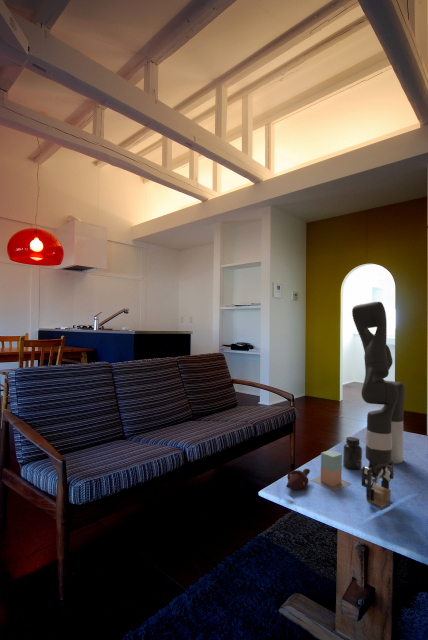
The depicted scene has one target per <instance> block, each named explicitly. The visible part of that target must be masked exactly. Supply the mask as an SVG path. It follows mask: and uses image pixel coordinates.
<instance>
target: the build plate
mask: <svg viewBox="0 0 428 640" xmlns="http://www.w3.org/2000/svg"><path fill="white" fill-rule="evenodd" d="M310 481H311V482H314V483H316V484H318V485H320V486H322V487H324V488H326V489H329V490H331V491H333V492H336V491H338V490H341V489H343V488H346V487H348V486H350V485H352V483H350V482H348V481H347V480H343V479H342V478H341V483H340V484H337V485H335V486H331V485H328V484H326V483H324V482H322V481H321V475H320V476H318V477H315V478H312V479H310Z"/></svg>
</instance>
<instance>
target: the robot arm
mask: <svg viewBox="0 0 428 640" xmlns="http://www.w3.org/2000/svg"><path fill="white" fill-rule="evenodd" d="M351 314H352V319H353V322H354V326H355V327H356V328H355V329H356V331H357V333H358V336H359V338H360V341H361V343H362V344H361V345H362V346H363V351H364V356H363V357H364V367H365V368H364V369H365V375H364V380H363V385H362V388H361V394H360V395H361V397H362V400H363V401H364V402H365V403H366V404H370V405H383V407H382V408H381V409H377V410H371V411H368V412H367V415H366V433H365V458H366V460H368V462H369V463H368V466H365V465H364V466H363V465H362V469H361V487H364V488H365V494H366V495H365V497H366V501H367V500H370V501H374V487H375V485H377V484H378V483H379V481H381V482H380V483H381V485H380V486H381V487H384V488H386V489H389V490H390V483H391V482H392V481H391V480H393V479H394V475H395V474H394V464H395V465H396V464H397V465H398V464H402V463H403V461H404V415H405V414H404V413H405V412H404V410H405V408H404V406H405V398H406V397H405V394H406V388H405V385H404V383H403V382H402V381H401V382H400V381H393V380H386V378H387V377H388V376H389V373H390V371H389V370H390V369H391V367H392V365H393V357H392V352H391V348H390V347H389V346H388V344H387V339H388V338H387V336H388V335H387V333H388V332H387V314H386V308H385V306H384V304H383V303H382V302H381V301H373V302H367V303H360V304H356V305H354V306H353V307H352V310H351ZM371 328H376V329H375V333H374V334H373V333H372V331H371V330H370V329H371ZM380 479H381V480H380Z"/></svg>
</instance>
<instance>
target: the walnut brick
mask: <svg viewBox="0 0 428 640" xmlns="http://www.w3.org/2000/svg"><path fill="white" fill-rule="evenodd" d="M391 493H392V492H391V489H390V488H389V489H386V488H384V487H381V485H379V484H376V485H375V487H374V501H370V500H367V499H366V502H370V503H372V504H374V505H376V506H378V507H381V508H380V511H383V510H386V509H387V508H389V507H391V495H392V494H391Z"/></svg>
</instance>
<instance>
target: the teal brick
mask: <svg viewBox="0 0 428 640" xmlns="http://www.w3.org/2000/svg"><path fill="white" fill-rule="evenodd" d="M321 467H323V468H325V469H328V470H330V471H332V472H334V471H336V470H339V469H343V454H341V453H340V452H337V451H333V450H331V449H330V450H326V451H325V450H324V451H323V452H321V453H320V468H321Z"/></svg>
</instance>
